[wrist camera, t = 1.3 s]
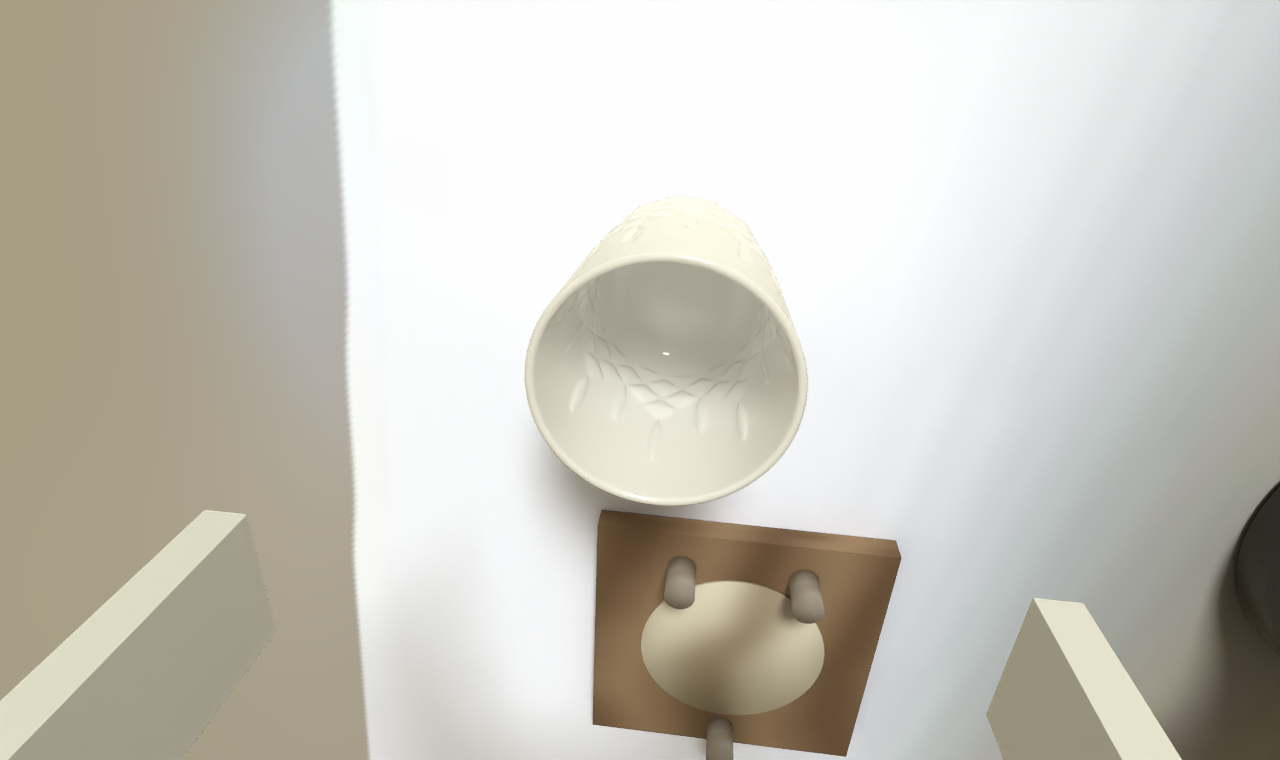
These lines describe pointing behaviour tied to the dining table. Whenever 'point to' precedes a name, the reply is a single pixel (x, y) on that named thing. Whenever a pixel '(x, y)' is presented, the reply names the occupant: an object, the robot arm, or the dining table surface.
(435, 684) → the dining table surface
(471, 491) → the dining table surface
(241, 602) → the robot arm
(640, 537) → the pin board
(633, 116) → the dining table surface
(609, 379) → the white cup
